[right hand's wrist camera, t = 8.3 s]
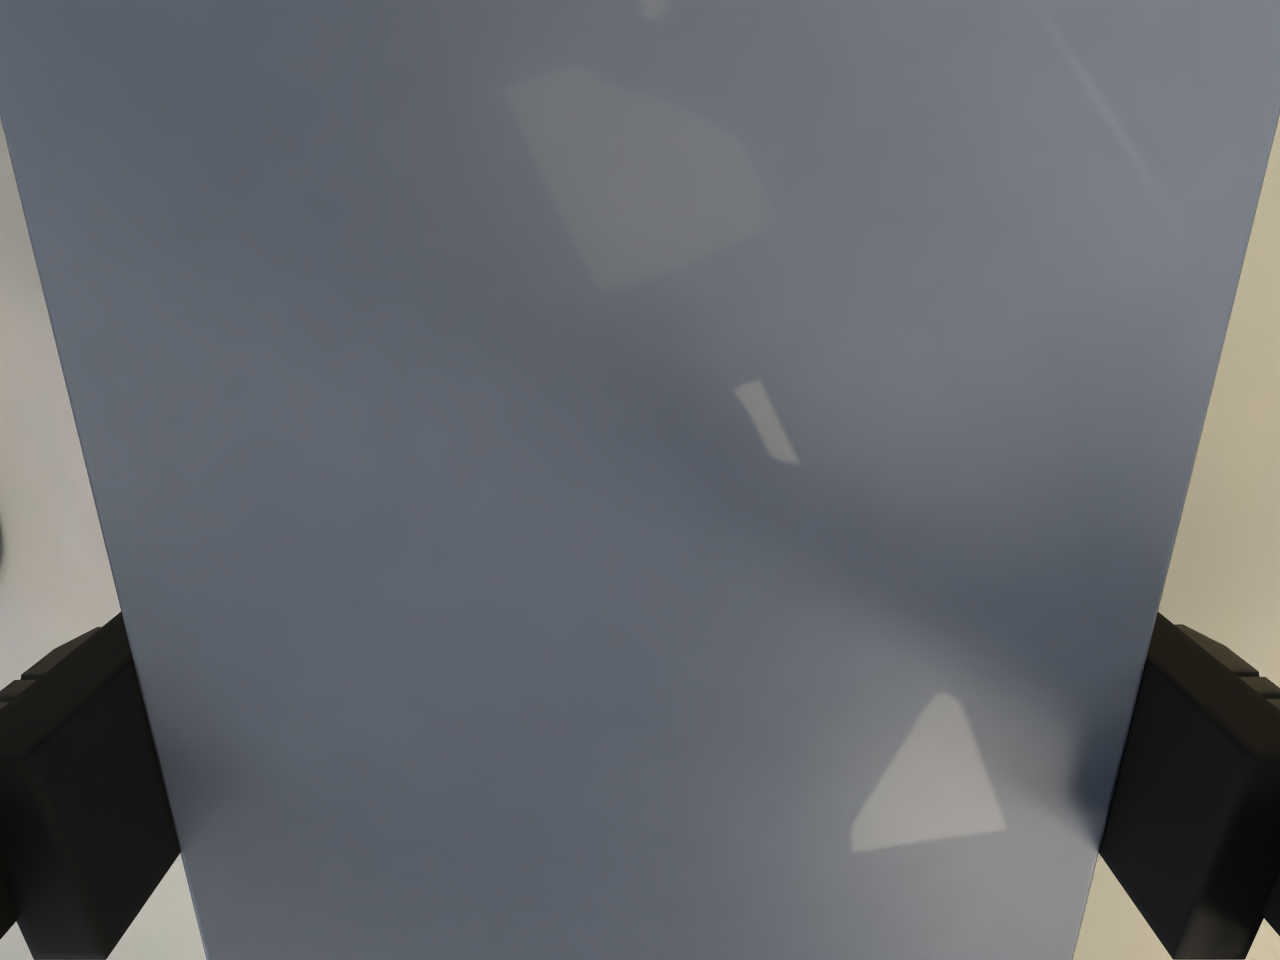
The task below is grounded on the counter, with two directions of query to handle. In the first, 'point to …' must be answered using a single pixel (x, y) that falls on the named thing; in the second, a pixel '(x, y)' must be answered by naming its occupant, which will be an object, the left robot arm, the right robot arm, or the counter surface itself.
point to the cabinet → (639, 447)
